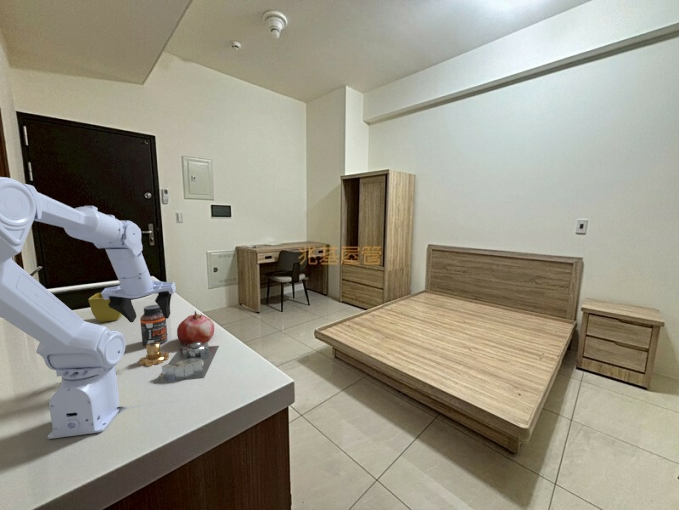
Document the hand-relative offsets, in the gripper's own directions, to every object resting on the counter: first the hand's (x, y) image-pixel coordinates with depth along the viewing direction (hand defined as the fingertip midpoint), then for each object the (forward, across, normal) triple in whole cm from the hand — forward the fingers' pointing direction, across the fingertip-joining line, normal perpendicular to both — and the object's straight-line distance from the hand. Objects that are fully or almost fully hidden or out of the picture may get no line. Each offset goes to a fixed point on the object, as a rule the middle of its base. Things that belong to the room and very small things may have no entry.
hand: (150, 317), depth 71 cm
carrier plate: (+9, -9, +8) cm, 15 cm away
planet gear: (+10, 0, +6) cm, 11 cm away
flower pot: (+23, +28, -29) cm, 46 cm away
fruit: (+14, -7, -4) cm, 16 cm away
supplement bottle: (+14, +4, -5) cm, 15 cm away
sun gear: (+10, -9, +4) cm, 14 cm away
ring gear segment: (+6, -9, +14) cm, 17 cm away
